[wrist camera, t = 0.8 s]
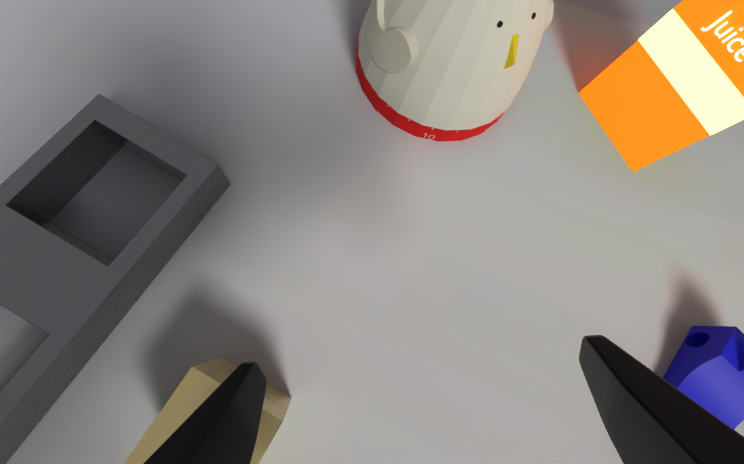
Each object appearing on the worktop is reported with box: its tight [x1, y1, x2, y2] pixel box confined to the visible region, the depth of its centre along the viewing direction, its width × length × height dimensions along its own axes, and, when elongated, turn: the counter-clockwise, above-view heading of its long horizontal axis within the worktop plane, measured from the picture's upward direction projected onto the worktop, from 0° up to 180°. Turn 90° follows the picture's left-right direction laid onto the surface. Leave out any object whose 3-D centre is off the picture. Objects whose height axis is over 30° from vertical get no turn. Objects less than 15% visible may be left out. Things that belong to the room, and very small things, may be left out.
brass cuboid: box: [124, 356, 291, 464], centre depth 17 cm, size 5×5×5 cm
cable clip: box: [663, 326, 744, 430], centre depth 21 cm, size 12×4×6 cm, turn 134°
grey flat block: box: [0, 94, 230, 464], centre depth 18 cm, size 20×8×3 cm, turn 150°
